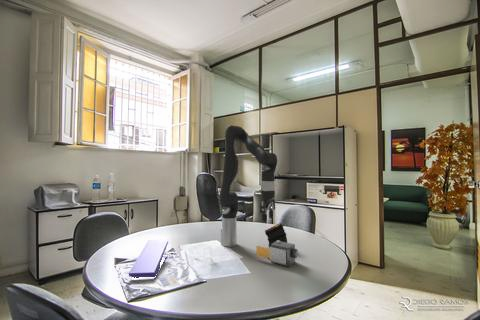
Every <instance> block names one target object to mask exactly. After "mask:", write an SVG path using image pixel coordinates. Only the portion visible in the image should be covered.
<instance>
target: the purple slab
mask: <svg viewBox="0 0 480 320" xmlns="http://www.w3.org/2000/svg"><path fill="white" fill-rule="evenodd" d="M168 244H169V240H168V239H160V240H158V239H157V240H147V241H146V243H145V245H144V247H143V248H142V250H141V251H140V253H139V255H138V257H137V258H136V260H135V262H133V263H134V264H133V266H132V267H131V269H130V270H129V272H128V277H134V278H135V277H136V278H139V277H155V276H156V274H157V273H158V271H159V269H160V262H161V260H162V257H163V255H165V252H166V249H167V246H168ZM160 270H161V269H160ZM159 272H160V271H159ZM158 274H159V273H158ZM156 277H157V276H156Z"/></svg>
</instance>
